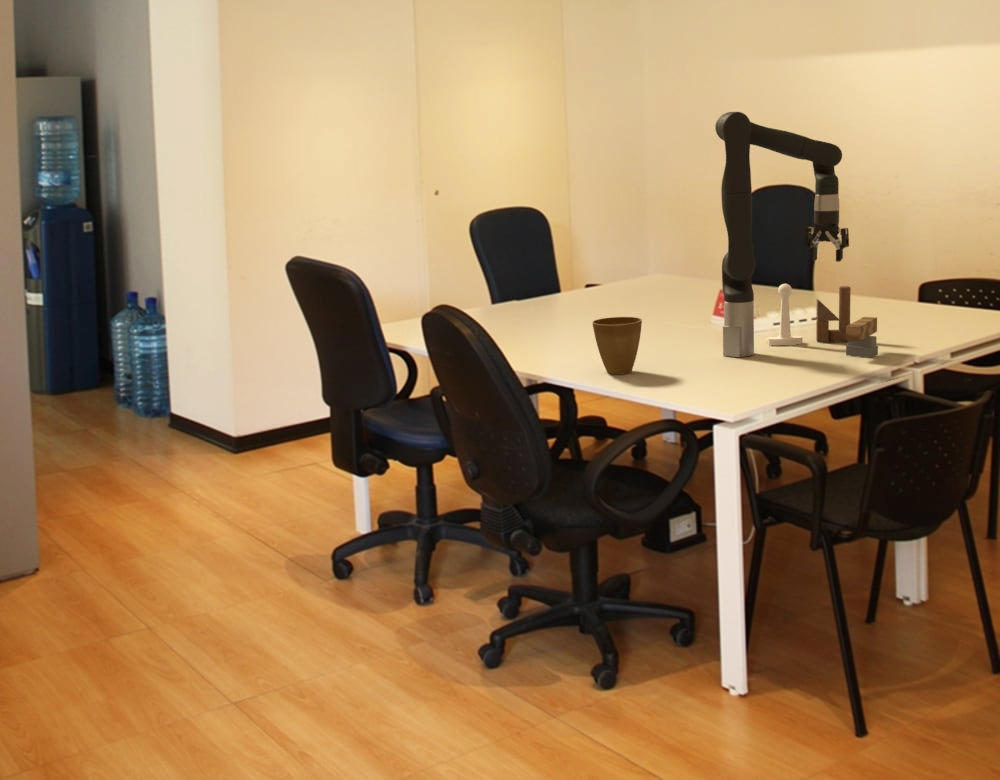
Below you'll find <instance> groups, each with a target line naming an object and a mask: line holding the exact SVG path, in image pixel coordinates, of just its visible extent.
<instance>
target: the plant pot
mask: <svg viewBox="0 0 1000 780" xmlns="http://www.w3.org/2000/svg"><path fill="white" fill-rule="evenodd" d="M642 323H643V319H642V318H641V317H636V316H635V317H634V316H615V317H614V316H612V317H602V318H598V319H595V320H593V321H592V323H591V324H592V327H593V328H592V329H593V332H594V337H595V338H594V339H595V342H596V345H597V349H598V353H599V355H600V358H601V361H602V364H603V366H604V368H605V371H606V373H607V374H608V373H610V374H609V375H614V374H620V375H627V374H631V373H632V371H633V369H634V365H635V363H636V358H637V354H638V352H639V351H638V350H639V345H640V341H641V340H640V339H641V332H642Z"/></svg>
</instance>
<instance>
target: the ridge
mask: <svg viewBox="0 0 1000 780" xmlns="http://www.w3.org/2000/svg"><path fill="white" fill-rule="evenodd" d="M845 355H851V356H850V357H856V356H859V357H858V358H865V357H867V359H871V358H874V357H877V356H878V355H879V345H877V336H874V335H870V336H868V337H867V338H865V339H863V340H861V341H859V342H856V341H848V342H847V345H845ZM876 355H877V356H876ZM873 356H874V357H873Z"/></svg>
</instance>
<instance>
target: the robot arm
mask: <svg viewBox="0 0 1000 780" xmlns="http://www.w3.org/2000/svg"><path fill="white" fill-rule="evenodd" d="M750 120H751V119H750V118H749V116H747V115H746V114H745V113H743V112H741V111H728V112H725V113H723V114H722V115H720V116H719V117H718V118H717V120H716V122H715V126H714V127H715V128H714V129H715V132H716V135H717V137H719V138H720V139H721V140H722V141H723V142H724V151H725V166H724V170H723V175H722V179H721V187H720V189H721V190H720V192H721V193H720V194H721V208H722V209H721V210H722V215H723V220H724V224H725V227H726V231H727V238H728V239H727V241H728V244H727V249H728V250H727V252H726V253H725V254H724V256H723V258H722V260H721V261H722V263H721V284H722V292H723V320H724V321H723V326H722V355H723V357H733V358H742V357H751V356H753V355H755V310H754V309H755V293H754V290H753V289H754V288H753V285H752V276H753V274H754V273H755V269H756V256H755V252H754V243H753V238H752V237H753V234H752V233H753V231H752V230H753V189H752V172H751V161H750V159H751V158H750V156H751V155H750V151H751V146H756V147H759V148H763V149H766V150H769V151H772V152H775V153H778V154H781V155H784V156H787V157H790V158H794V159H798V160H802V161H804V160H805V161H809V162H812V168H813V174H814V177H815V178H814V179H815V185H814V186H815V189H814V191H815V192H814V193H815V196H814V203H813V205H814V208H813V210H814V212H813V213H814V214H813V215H814V216H813V217H814V219H813V220H814V226H813V227H812V226H807V227H805V231H804V242H803V243H804V246H805V247H808V248H809V250H810V251H809V252H810V253H809V256H810V259H811V261H817V260H818V245H820V243H821V242H827V243H828V242H829V243H830V242H831V243H832V245H834V248H836V250H835V262H837V263H839V262H841V261H842V260H843V258H844V249H845V248H848V247H849V246H850V239H849V238H850V236H849V235H850V233H849V228H848V227H843V228H840V226H839V225H840V208H841V207H840V198H839V195H840V194H839V193H840V192H839V189H840V188H839V187H840V185H839V178H838V176H837V175H836V172H835V166H838V164H839V163H841V161H842V160H843V152H842V150H841V148H840V146H838V145H836V144H834V143H830V142H826V141H822V140H817V139H812V138H810V137H807V136H804V135H801V134H797V133H794V132H791V131H787V130H782V129H776V128H772V127H767V126H763V125H760V124H757V123H754V122H752V121H750ZM813 234H815V236H814V237H813ZM839 235H841V236H839ZM840 237H841V238H840Z"/></svg>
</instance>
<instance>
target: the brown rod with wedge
mask: <svg viewBox="0 0 1000 780" xmlns="http://www.w3.org/2000/svg"><path fill="white" fill-rule="evenodd" d="M838 290H839V291H838V317H837V316H836V314H834V313H833V312H832V311H831V310H830V309H829V308H828V307H827V306H826V305H825V304H824V303H822V301H820V300H819V299H818V298H816V327H815V328H816V329H815V332H816V336H815V338H816V339H815V340H816V342H817V343H818V342H825V343H829V342H830V341H834V342H833V343H836V342H835V341H846V326H848V325H850V324H851V290H852V289H851V286H849V285H843V286H842V285H841V286H839V287H838ZM835 321H838V329H830V327H829V326H830V324H829V323H830V322H835Z"/></svg>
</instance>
